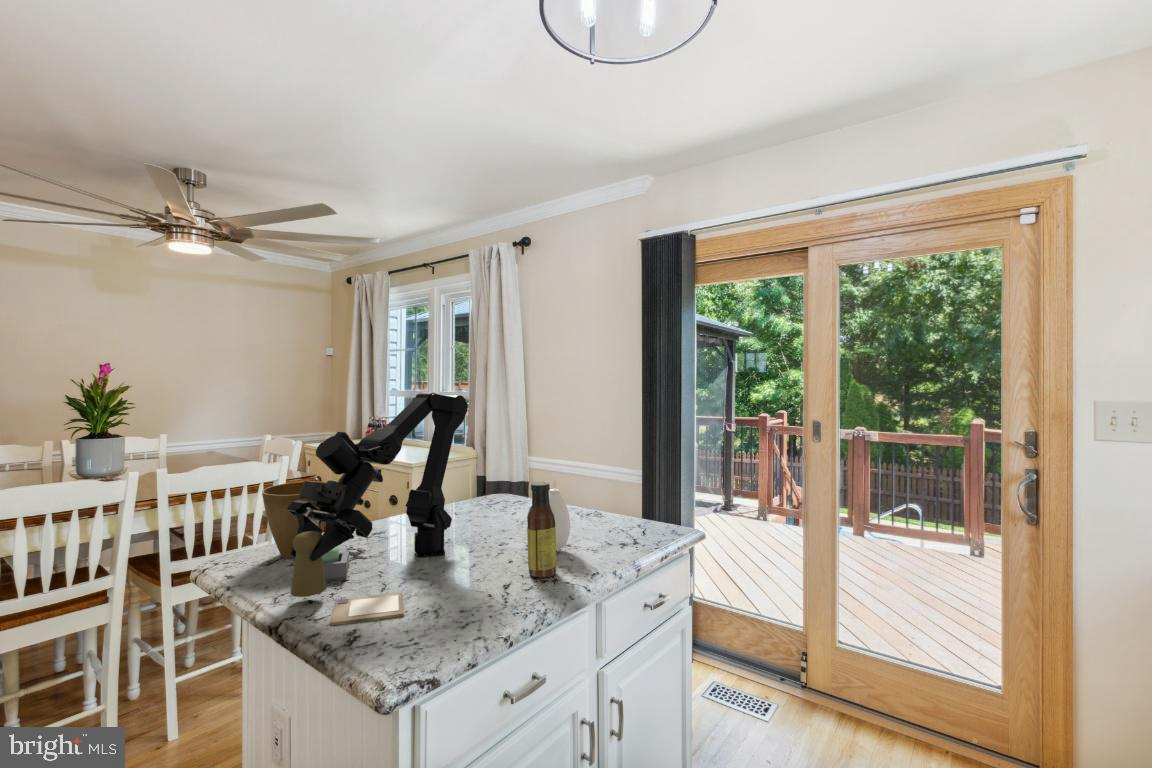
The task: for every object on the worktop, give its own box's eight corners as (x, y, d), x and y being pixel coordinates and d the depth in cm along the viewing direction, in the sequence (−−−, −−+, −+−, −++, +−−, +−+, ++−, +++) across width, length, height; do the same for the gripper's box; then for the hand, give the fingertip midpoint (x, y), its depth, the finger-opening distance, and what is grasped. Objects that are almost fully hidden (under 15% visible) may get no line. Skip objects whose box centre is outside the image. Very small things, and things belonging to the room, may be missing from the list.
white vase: (551, 558, 127) (552, 483, 127) (531, 550, 133) (532, 478, 133) (575, 552, 132) (576, 479, 132) (555, 544, 138) (556, 474, 138)
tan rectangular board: (402, 594, 105) (402, 591, 105) (403, 616, 95) (403, 612, 95) (335, 602, 101) (335, 599, 101) (329, 625, 91) (329, 621, 91)
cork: (311, 598, 98) (311, 538, 98) (282, 595, 99) (282, 536, 99) (333, 585, 104) (333, 529, 103) (305, 583, 105) (305, 527, 105)
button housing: (349, 566, 120) (349, 551, 120) (346, 579, 113) (346, 562, 113) (309, 570, 118) (309, 554, 117) (303, 583, 110) (304, 566, 110)
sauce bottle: (560, 571, 119) (561, 481, 119) (550, 580, 113) (551, 487, 113) (533, 567, 121) (534, 479, 121) (521, 576, 115) (522, 484, 115)
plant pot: (285, 543, 136) (285, 480, 136) (342, 544, 136) (343, 481, 135) (246, 563, 121) (247, 493, 121) (311, 565, 121) (311, 494, 120)
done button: (339, 558, 118) (339, 545, 118) (337, 565, 114) (338, 551, 114) (317, 560, 116) (317, 547, 116) (314, 567, 112) (315, 553, 112)
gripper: (295, 460, 109) (240, 528, 99) (360, 468, 100) (307, 543, 90) (329, 491, 116) (280, 557, 106) (392, 501, 107) (346, 574, 98)
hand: (301, 557), depth 100 cm, fingers closed on cork, 5 cm apart
